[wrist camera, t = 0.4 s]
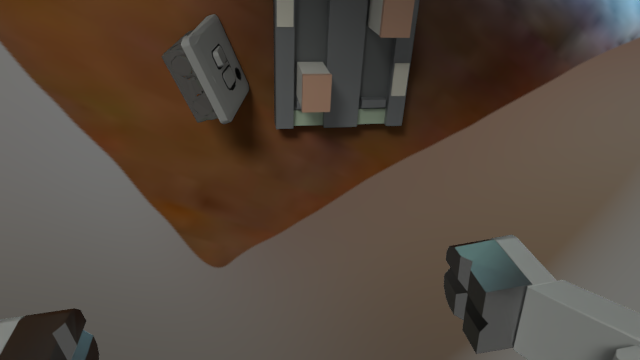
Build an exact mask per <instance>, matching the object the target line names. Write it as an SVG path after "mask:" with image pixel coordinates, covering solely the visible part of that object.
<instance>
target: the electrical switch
mask: <svg viewBox="0 0 640 360" xmlns="http://www.w3.org/2000/svg"><path fill="white" fill-rule="evenodd" d="M168 53H169V54H168ZM165 54H166V55H165ZM163 55H164V56H162V58H163V60H164V62H165V64H166V66H167V68H168V69H169V71H170V73H171V75H172V77H173V78H174V80H175V82H176V84H177V86H178V88H179V89H180V91H181V93H182V95H183V97H184V99H185V100H186V102H187V104H188V106H189V108H190V110H191V111H192V113H193V115H194V117H195V119H196V121H197V122H202V121H206V120H213V119H216V118H219V120H220V122H221V123H222V124H226V123H229V122H231V121H232V120H233V118H234V116H235V114H236V112H237V111H238V109H239V107H240V105H241V104H242V102H243V100H244V98H245V97H246V95H247V93H248V91H249V84H248V82H247V80H246V78H245V75H244V73H243V71H242V69H241V67H240V64H239V62H238V60H237V58H236V56H235V53H234V51H233V49H232V47H231V44H230V42H229V40H228V38H227V36H226V33H225V31H224V29H223V27H222V25H221V22H220V20H219V18H218V16H216V15H215V14H213V15H210V16H207V17H206V18H205V19H204V20H203V21H202V22H201V23H200V24H199V25H198V26H197V27H196V28H195V29H194V30H192V31H189V32H188V33H186V34H185V35H184V36H183V37H182V38H181V39H180V40H179V41H177V42H176V43H175V44H174V45H173V46H172V47H171V48H170V49H168V50H167V51H166V52H165V53H164V54H163ZM182 56H184V57H182ZM172 68H173V69H172ZM191 72H192V73H191ZM183 76H186V77H183ZM194 77H195V78H194ZM189 78H190V79H189ZM187 79H188V80H187ZM197 94H200V95H199V96H196V95H197ZM193 102H194V103H193ZM196 112H197V113H196Z"/></svg>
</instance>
